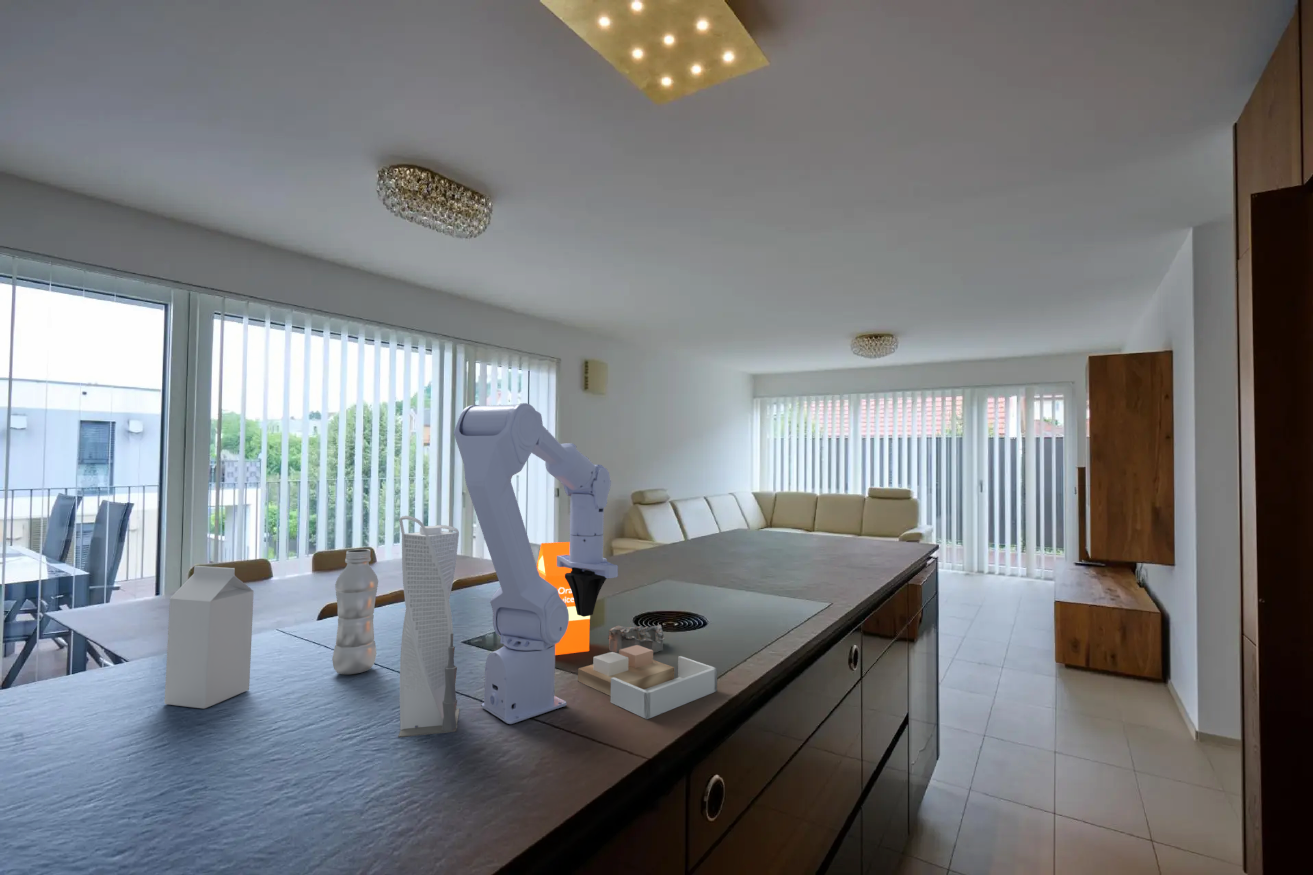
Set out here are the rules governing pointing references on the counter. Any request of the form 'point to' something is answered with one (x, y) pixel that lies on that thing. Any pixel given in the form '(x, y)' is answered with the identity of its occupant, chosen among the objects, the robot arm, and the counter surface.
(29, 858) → the counter surface
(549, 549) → the orange juice
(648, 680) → the flat wooden plank
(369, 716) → the counter surface
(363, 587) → the plastic bottle
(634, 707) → the tray
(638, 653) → the terracotta tile
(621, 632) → the egg carton
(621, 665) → the cream tile
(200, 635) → the milk carton
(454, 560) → the skyscraper
